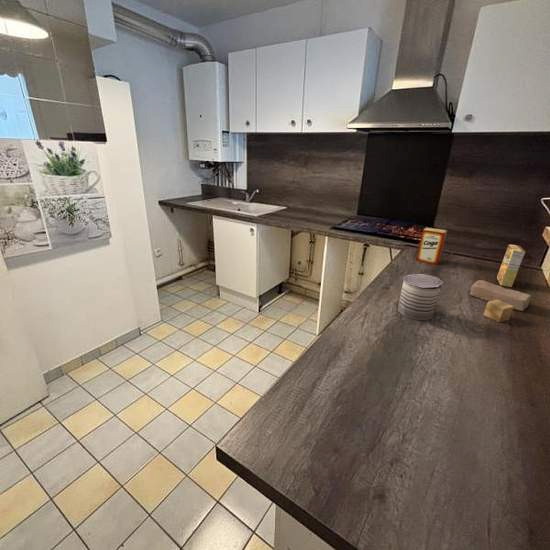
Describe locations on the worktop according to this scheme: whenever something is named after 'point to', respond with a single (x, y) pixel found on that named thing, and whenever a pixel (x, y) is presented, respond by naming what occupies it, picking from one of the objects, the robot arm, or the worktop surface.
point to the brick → (500, 294)
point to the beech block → (498, 310)
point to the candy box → (510, 265)
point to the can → (419, 296)
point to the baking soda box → (431, 245)
